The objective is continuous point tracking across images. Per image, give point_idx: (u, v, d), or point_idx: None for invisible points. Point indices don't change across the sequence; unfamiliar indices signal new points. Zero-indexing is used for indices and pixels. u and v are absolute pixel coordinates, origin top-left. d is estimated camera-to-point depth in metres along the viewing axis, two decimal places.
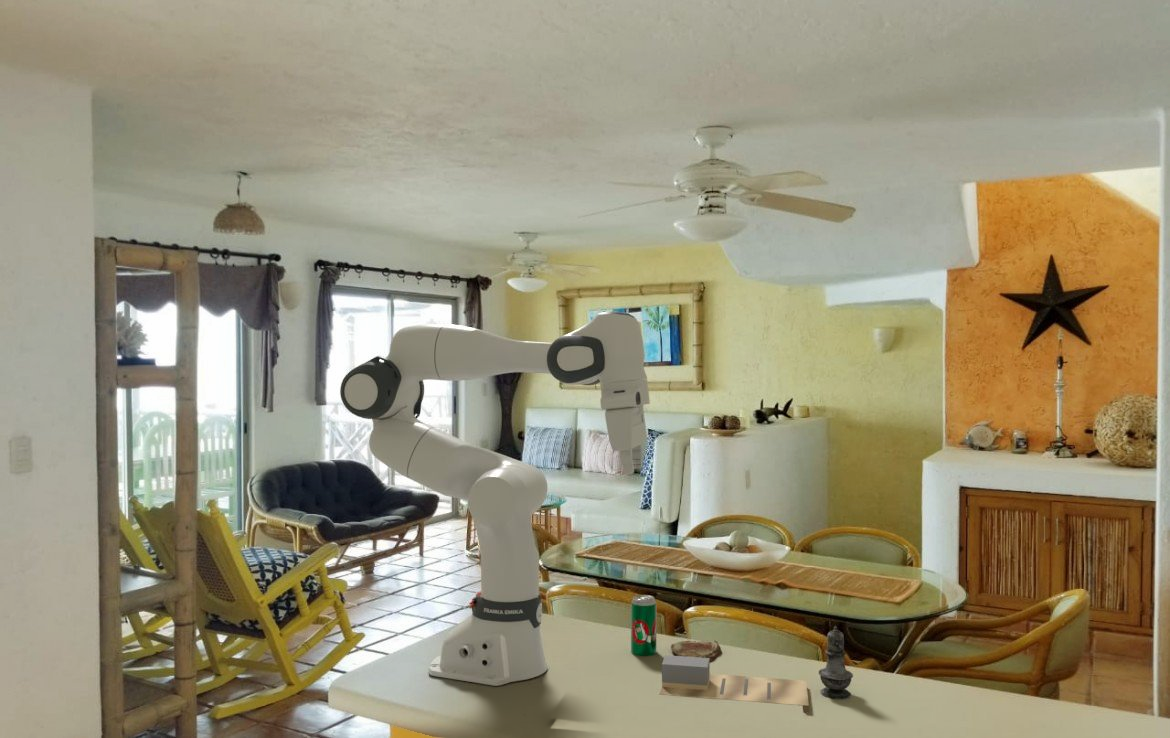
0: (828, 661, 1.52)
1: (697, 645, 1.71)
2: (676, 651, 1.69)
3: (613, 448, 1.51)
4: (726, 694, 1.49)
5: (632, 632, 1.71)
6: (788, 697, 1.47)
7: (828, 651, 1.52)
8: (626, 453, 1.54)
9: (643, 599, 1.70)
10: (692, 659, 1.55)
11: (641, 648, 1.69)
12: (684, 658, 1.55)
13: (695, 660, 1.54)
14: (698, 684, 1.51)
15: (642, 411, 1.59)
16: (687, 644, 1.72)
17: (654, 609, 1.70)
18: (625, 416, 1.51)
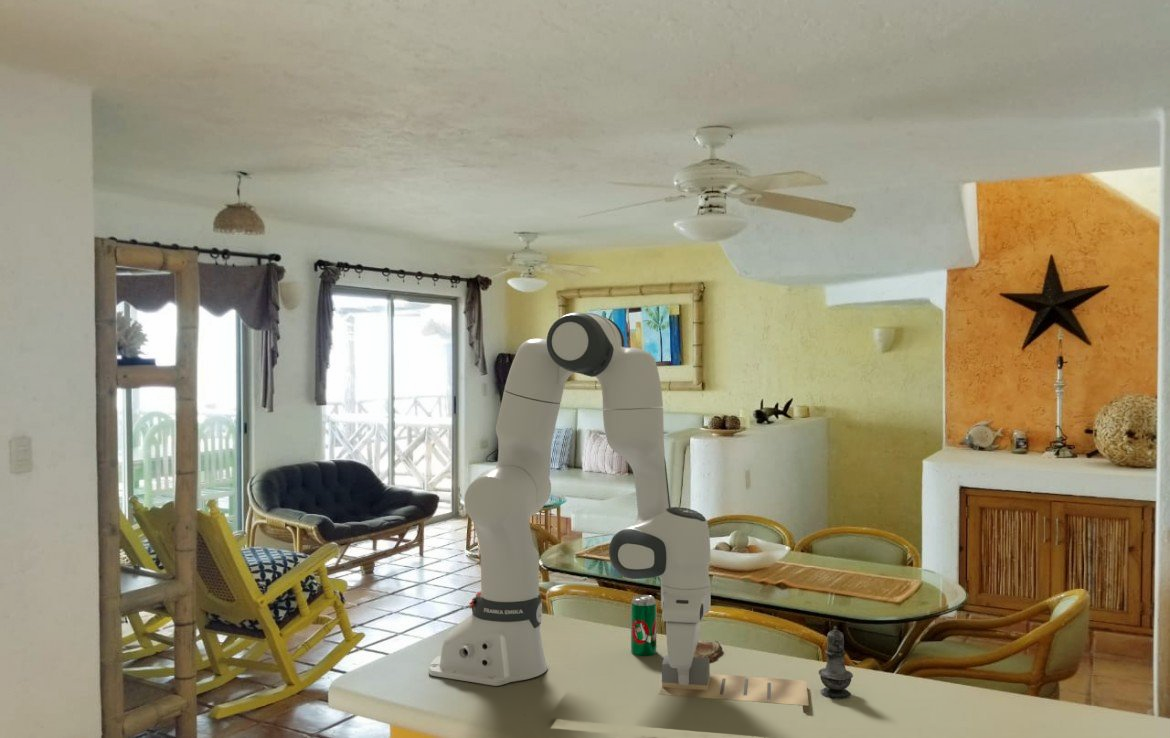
0: (828, 661, 1.52)
1: (699, 645, 1.71)
2: None
3: (671, 665, 1.45)
4: (726, 694, 1.49)
5: (632, 632, 1.71)
6: (788, 697, 1.47)
7: (828, 651, 1.52)
8: None
9: (643, 599, 1.70)
10: None
11: (641, 648, 1.69)
12: None
13: (695, 660, 1.54)
14: (698, 684, 1.51)
15: (702, 618, 1.53)
16: None
17: (654, 609, 1.70)
18: (687, 634, 1.44)
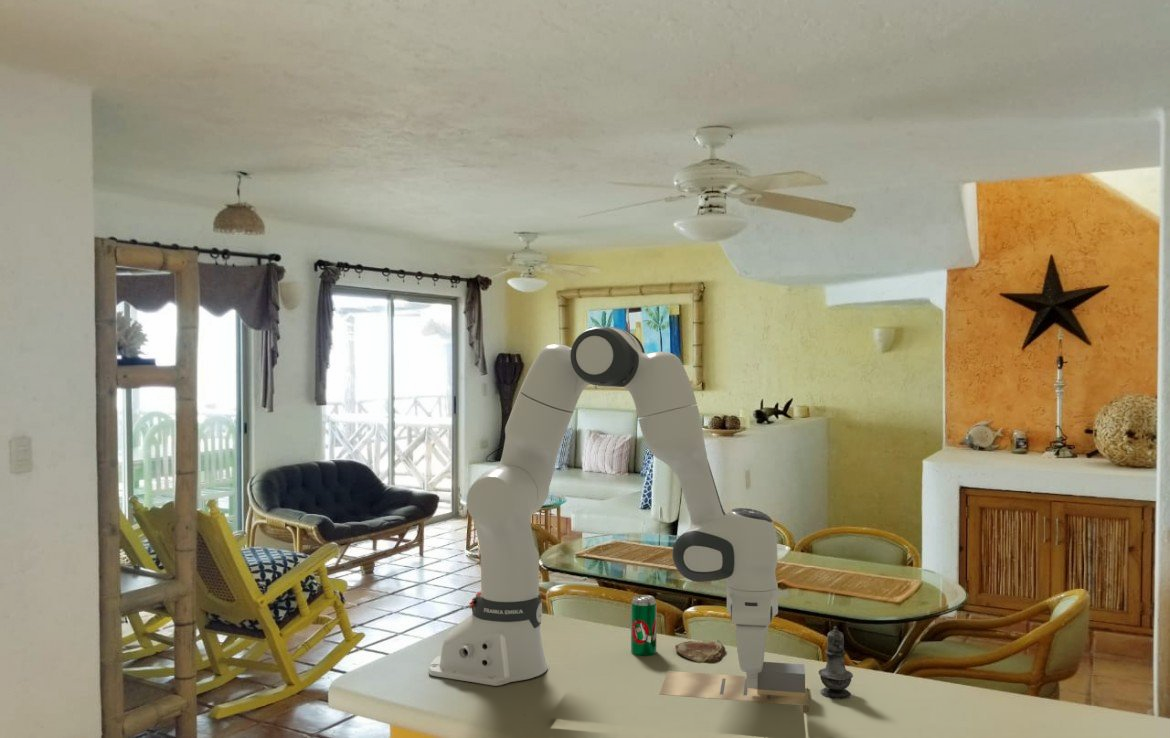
0: (828, 661, 1.52)
1: (702, 645, 1.71)
2: (682, 652, 1.69)
3: (742, 669, 1.42)
4: (726, 694, 1.49)
5: (632, 632, 1.71)
6: (788, 697, 1.47)
7: (828, 651, 1.52)
8: None
9: (643, 599, 1.70)
10: (787, 666, 1.51)
11: (641, 648, 1.69)
12: (778, 664, 1.52)
13: (790, 667, 1.51)
14: (795, 691, 1.47)
15: None
16: (691, 644, 1.72)
17: (654, 609, 1.70)
18: (758, 637, 1.42)
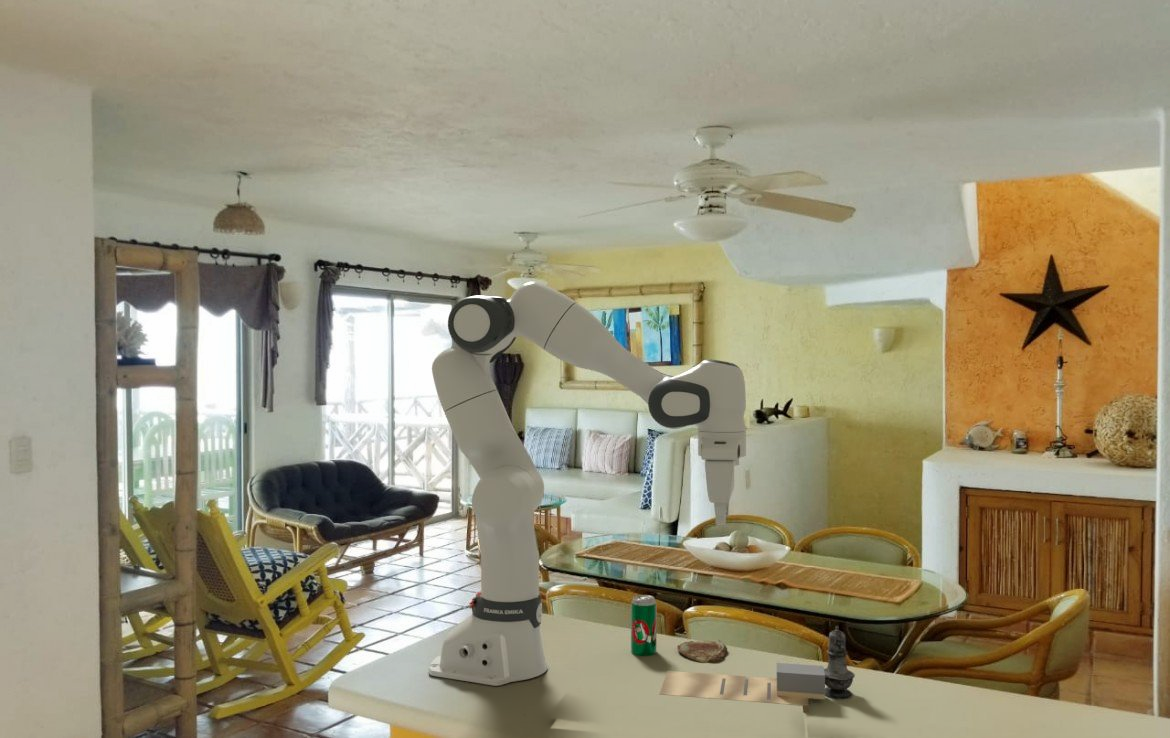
0: (830, 661, 1.52)
1: (704, 645, 1.71)
2: (685, 652, 1.69)
3: (710, 500, 1.51)
4: (726, 694, 1.49)
5: (632, 632, 1.71)
6: (788, 697, 1.47)
7: (830, 651, 1.52)
8: (721, 505, 1.54)
9: (643, 599, 1.70)
10: (806, 667, 1.50)
11: (641, 648, 1.69)
12: (797, 666, 1.51)
13: (810, 668, 1.50)
14: (815, 693, 1.47)
15: (738, 463, 1.59)
16: (694, 645, 1.72)
17: (654, 609, 1.70)
18: (726, 469, 1.51)
